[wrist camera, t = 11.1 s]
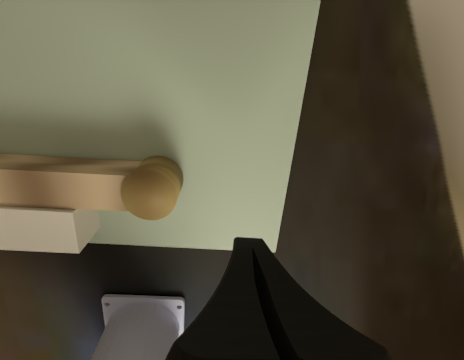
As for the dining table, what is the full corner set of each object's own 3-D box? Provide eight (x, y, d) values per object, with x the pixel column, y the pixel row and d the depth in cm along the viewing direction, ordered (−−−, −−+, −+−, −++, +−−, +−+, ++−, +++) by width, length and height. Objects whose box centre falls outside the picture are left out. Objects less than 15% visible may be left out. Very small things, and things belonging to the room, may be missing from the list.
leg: (183, 157, 20) (176, 172, 17) (183, 200, 21) (176, 221, 18) (-26, 145, 19) (-72, 159, 16) (-12, 191, 20) (-52, 211, 17)
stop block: (100, 226, 22) (79, 253, 19) (12, 221, 21) (-25, 248, 18) (96, 190, 21) (72, 212, 17) (2, 184, 20) (-40, 206, 17)
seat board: (273, 245, 24) (275, 252, 23) (1, 231, 23) (-8, 238, 22) (315, 4, 17) (320, 0, 16) (-77, -39, 16) (-96, -46, 15)
